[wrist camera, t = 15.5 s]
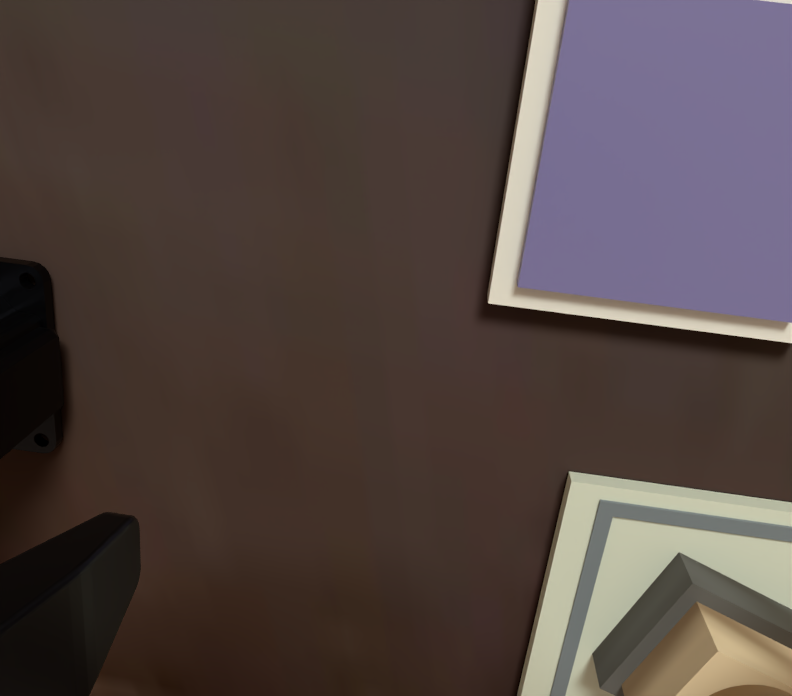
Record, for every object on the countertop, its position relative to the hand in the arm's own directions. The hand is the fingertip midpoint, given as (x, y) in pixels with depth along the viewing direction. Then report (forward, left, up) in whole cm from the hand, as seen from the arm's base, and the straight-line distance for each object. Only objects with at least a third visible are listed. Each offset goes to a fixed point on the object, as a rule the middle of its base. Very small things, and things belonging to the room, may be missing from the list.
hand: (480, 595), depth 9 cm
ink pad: (+5, +4, -13) cm, 15 cm away
